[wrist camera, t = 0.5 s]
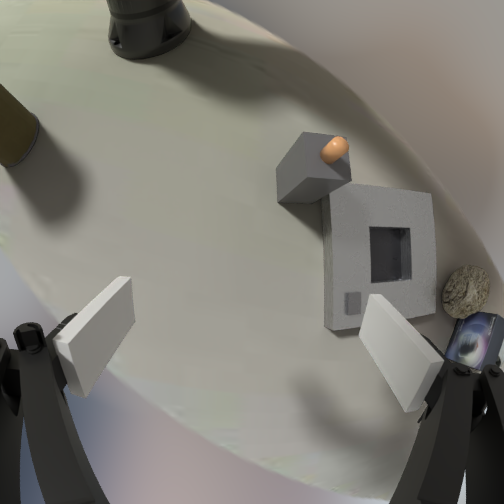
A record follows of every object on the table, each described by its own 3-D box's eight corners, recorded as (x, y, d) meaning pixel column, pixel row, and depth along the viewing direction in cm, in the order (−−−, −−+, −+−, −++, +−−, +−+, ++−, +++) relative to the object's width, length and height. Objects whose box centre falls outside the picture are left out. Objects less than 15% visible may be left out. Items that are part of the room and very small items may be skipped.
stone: (429, 300, 42) (469, 305, 32) (452, 259, 43) (491, 258, 33) (443, 320, 42) (481, 328, 32) (464, 281, 44) (501, 282, 34)
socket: (320, 187, 39) (330, 180, 36) (420, 196, 42) (433, 192, 39) (324, 326, 38) (334, 331, 35) (424, 310, 41) (437, 313, 38)
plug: (276, 168, 38) (313, 118, 24) (309, 170, 39) (359, 126, 24) (277, 202, 38) (318, 167, 23) (311, 203, 39) (366, 172, 24)
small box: (459, 307, 43) (498, 312, 33) (473, 315, 44) (509, 321, 34) (442, 357, 42) (479, 370, 32) (457, 362, 43) (492, 374, 33)
